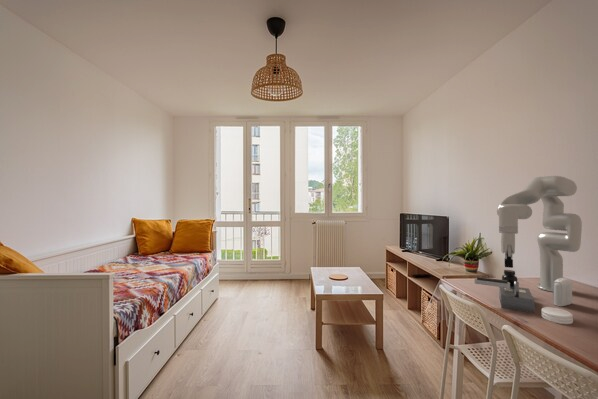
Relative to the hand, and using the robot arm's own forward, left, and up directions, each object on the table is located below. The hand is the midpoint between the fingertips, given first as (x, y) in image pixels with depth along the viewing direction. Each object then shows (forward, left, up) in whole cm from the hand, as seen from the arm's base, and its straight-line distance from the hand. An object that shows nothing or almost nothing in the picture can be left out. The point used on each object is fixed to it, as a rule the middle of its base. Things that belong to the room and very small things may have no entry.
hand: (508, 267), depth 140 cm
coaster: (+14, +15, -18) cm, 27 cm away
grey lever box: (+2, +2, -17) cm, 17 cm away
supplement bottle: (-16, +1, -18) cm, 24 cm away
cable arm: (+8, -7, -8) cm, 14 cm away
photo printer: (-9, +21, -18) cm, 29 cm away
